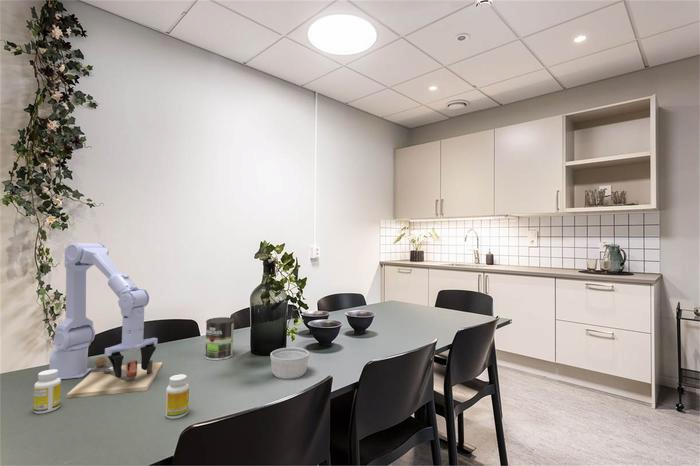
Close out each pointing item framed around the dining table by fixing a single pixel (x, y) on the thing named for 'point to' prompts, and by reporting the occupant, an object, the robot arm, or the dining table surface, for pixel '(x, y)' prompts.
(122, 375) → the lever
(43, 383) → the supplement bottle
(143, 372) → the board
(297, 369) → the ramekin
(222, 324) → the coffee can
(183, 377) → the supplement bottle
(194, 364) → the dining table surface
